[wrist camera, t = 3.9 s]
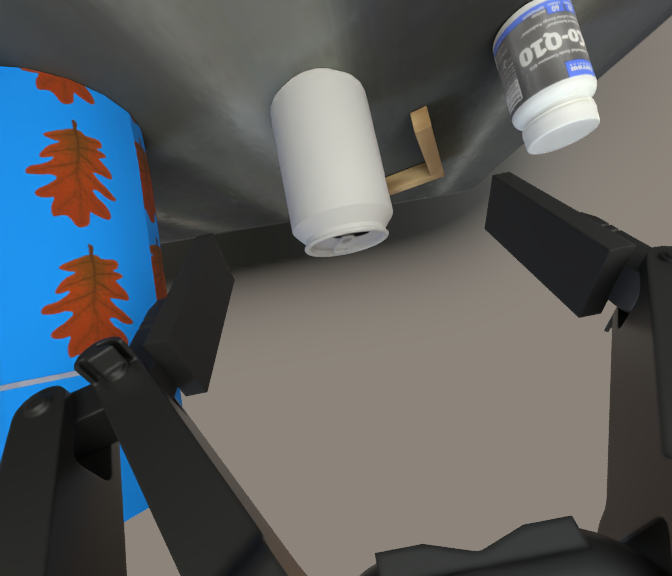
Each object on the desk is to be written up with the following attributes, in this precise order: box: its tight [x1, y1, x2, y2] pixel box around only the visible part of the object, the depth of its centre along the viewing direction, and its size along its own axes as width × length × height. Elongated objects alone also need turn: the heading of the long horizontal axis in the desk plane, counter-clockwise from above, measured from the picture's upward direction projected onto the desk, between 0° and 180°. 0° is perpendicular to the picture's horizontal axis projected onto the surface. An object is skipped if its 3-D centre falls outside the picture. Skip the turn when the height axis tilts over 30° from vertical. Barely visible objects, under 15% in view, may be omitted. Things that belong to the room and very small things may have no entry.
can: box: [270, 68, 393, 257], centre depth 23 cm, size 8×8×12 cm
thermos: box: [0, 66, 182, 522], centre depth 20 cm, size 11×11×25 cm
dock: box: [385, 106, 444, 196], centre depth 36 cm, size 15×12×2 cm
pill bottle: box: [493, 0, 600, 154], centre depth 21 cm, size 5×5×8 cm
